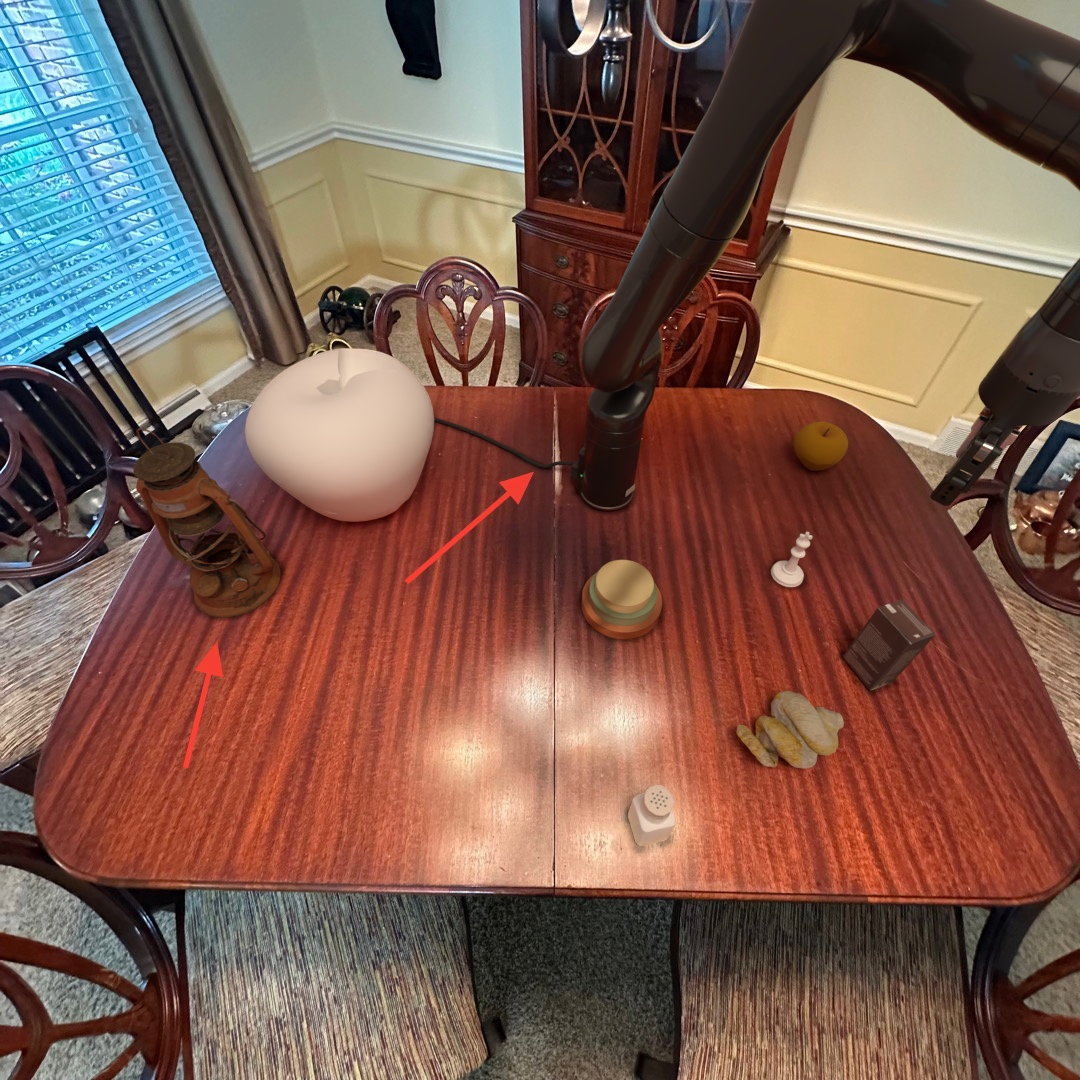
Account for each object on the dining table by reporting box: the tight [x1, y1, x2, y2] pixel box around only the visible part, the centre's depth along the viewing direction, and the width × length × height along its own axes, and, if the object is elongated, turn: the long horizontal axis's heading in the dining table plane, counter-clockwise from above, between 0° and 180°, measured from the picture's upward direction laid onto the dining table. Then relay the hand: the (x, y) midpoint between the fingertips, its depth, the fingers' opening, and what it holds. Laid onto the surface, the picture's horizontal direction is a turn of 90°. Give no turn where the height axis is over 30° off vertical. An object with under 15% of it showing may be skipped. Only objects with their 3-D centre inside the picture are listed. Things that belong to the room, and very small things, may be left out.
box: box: [842, 599, 937, 691], centre depth 80 cm, size 6×4×12 cm
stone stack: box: [736, 690, 845, 770], centre depth 76 cm, size 10×6×15 cm
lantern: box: [132, 427, 281, 619], centre depth 83 cm, size 17×13×30 cm
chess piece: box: [770, 531, 813, 588], centre depth 92 cm, size 5×5×10 cm
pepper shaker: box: [627, 784, 677, 847], centre depth 67 cm, size 4×4×10 cm
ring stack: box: [580, 559, 663, 640], centre depth 89 cm, size 12×12×6 cm
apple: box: [792, 420, 849, 472], centre depth 109 cm, size 9×9×9 cm
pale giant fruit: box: [244, 347, 435, 523], centre depth 98 cm, size 28×27×25 cm
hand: (952, 479), depth 70 cm, fingers open, 8 cm apart
